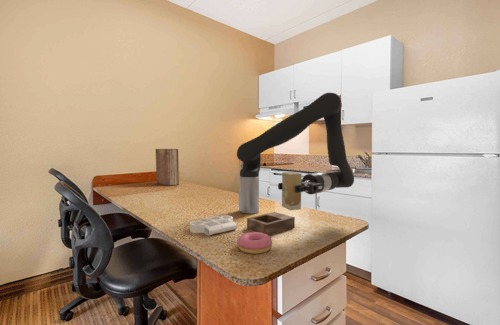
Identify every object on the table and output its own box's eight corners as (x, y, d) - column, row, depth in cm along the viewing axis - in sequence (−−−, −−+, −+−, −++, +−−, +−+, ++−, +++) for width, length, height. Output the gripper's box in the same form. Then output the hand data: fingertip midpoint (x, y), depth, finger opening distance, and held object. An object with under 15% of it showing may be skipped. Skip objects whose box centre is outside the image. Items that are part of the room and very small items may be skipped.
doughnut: (272, 242, 85) (272, 230, 85) (272, 256, 74) (272, 242, 74) (239, 241, 86) (239, 229, 85) (235, 255, 75) (235, 241, 74)
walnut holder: (247, 228, 99) (246, 218, 98) (274, 221, 108) (274, 211, 108) (266, 236, 90) (266, 224, 90) (294, 227, 100) (294, 217, 100)
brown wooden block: (179, 185, 213) (178, 148, 211) (168, 186, 207) (167, 149, 205) (166, 182, 232) (165, 148, 230) (156, 183, 226) (155, 148, 224)
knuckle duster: (201, 239, 88) (184, 228, 100) (244, 229, 99) (224, 220, 110) (201, 230, 88) (184, 220, 100) (244, 221, 98) (224, 213, 110)
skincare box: (281, 206, 90) (281, 172, 89) (292, 205, 92) (292, 171, 91) (290, 210, 84) (290, 174, 83) (301, 209, 86) (301, 173, 85)
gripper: (301, 171, 102) (272, 175, 91) (333, 174, 91) (304, 178, 80) (301, 190, 102) (272, 195, 92) (333, 195, 91) (304, 202, 81)
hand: (287, 187), depth 86 cm, fingers closed on skincare box, 7 cm apart
